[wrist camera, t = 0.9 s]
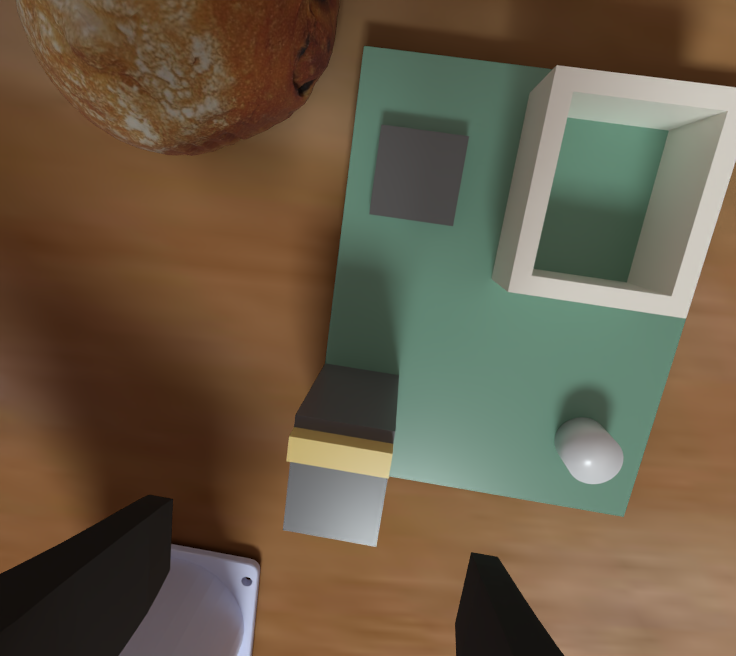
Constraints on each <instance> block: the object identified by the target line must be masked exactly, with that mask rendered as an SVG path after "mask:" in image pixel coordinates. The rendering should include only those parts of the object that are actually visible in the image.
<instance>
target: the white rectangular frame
mask: <svg viewBox="0 0 736 656" xmlns="http://www.w3.org/2000/svg"><path fill="white" fill-rule="evenodd" d="M567 117H568V118H576V119H583V120H591V121H599V122H607V123H614V124H622V125H630V126H637V127H645V128H653V129H660V130H668V131H669V132H668V136H667V139H666V143H665V146H664V150H663V154H662V157H661V161H660V164H659V168H658V172H657V175H656V179H655V182H654V186H653V190H652V193H651V197H650V200H649V204H648V208H647V211H646V215H645V219H644V222H643V226H642V229H641V233H640V237H639V240H638V244H637V247H636V251H635V255H634V258H633V262H632V265H631V269H630V273H629V276H628V280H627V283H626V282H619V281H613V280H606V279H599V278H592V277H585V276H579V275H572V274H565V273H558V272H551V271H545V270H538V269H533V268H534V263H535V259H536V254H537V250H538V245H539V241H540V237H541V232H542V228H543V223H544V219H545V214H546V210H547V206H548V201H549V197H550V192H551V188H552V183H553V179H554V175H555V170H556V166H557V161H558V157H559V152H560V148H561V144H562V139H563V135H564V130H565V126H566V121H567ZM735 161H736V87H728V86H720V85H712V84H704V83H696V82H688V81H680V80H672V79H664V78H656V77H648V76H640V75H632V74H624V73H615V72H607V71H599V70H591V69H583V68H575V67H567V66H559V65H556V66H555V67H554V68H553V69H552V70H551V72H550V73H549V74H548V75H547V76H546V77H545V78H544V79H543V80H542V81H541V82H540V83H539V84H538V85H537V86H536V87H535V88H534V89H533V90H532V91H531V92H530V93H529V98H528V103H527V108H526V113H525V118H524V123H523V128H522V132H521V137H520V142H519V147H518V152H517V157H516V162H515V167H514V172H513V176H512V181H511V186H510V191H509V196H508V201H507V206H506V211H505V215H504V220H503V225H502V230H501V235H500V240H499V245H498V250H497V255H496V259H495V264H494V269H493V274H492V280H493V281H494V282H496V283H497V284H498V285H500V286H501V287H502V288H504V289H505V290H506V291H507V292H512V293H519V294H525V295H532V296H539V297H545V298H552V299H559V300H565V301H572V302H579V303H585V304H592V305H599V306H605V307H612V308H619V309H625V310H632V311H639V312H645V313H652V314H659V315H665V316H672V317H679V318H685V319H686V317H687V314H688V311H689V307H690V304H691V301H692V298H693V295H694V292H695V288H696V285H697V282H698V279H699V276H700V272H701V269H702V266H703V263H704V260H705V257H706V253H707V250H708V247H709V244H710V241H711V238H712V234H713V231H714V228H715V225H716V222H717V218H718V215H719V212H720V209H721V206H722V203H723V199H724V196H725V193H726V190H727V187H728V183H729V180H730V177H731V174H732V171H733V168H734V164H735Z"/></svg>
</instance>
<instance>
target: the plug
mask: <svg viewBox="0 0 736 656" xmlns="http://www.w3.org/2000/svg"><path fill="white" fill-rule="evenodd" d="M398 386H399V375H395V374H388V373H382V372H376V371H370V370H364V369H357V368H351V367H345V366H339V365H333V364H326V363H325V364H324V366H323V368H322V370H321V371H320V373H319V375H318V377H317V378H316V380H315V382H314V384H313V385H312V387H311V389H310V391H309V392H308V394H307V396H306V398H305V399H304V401H303V403H302V404H301V406H300V408H299V410H298V411H297V413H296V415H295V424H294V428H293V430H292V432H291V434H290V436H289V443H288V452H287V461H289V462H290V470H289V479H288V489H287V498H286V507H285V516H284V525H283V530H286V531H292V532H297V533H303V534H308V535H314V536H319V537H325V538H330V539H336V540H341V541H347V542H353V543H358V544H364V545H369V546H375V547H376V545H377V539H378V533H379V527H380V521H381V515H382V509H383V503H384V497H385V491H386V485H387V479H389V473H390V467H391V461H392V455H393V443H394V437H395V431H396V416H397V401H398Z"/></svg>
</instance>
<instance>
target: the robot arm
mask: <svg viewBox="0 0 736 656" xmlns="http://www.w3.org/2000/svg"><path fill="white" fill-rule="evenodd" d="M172 510H173V499H170V498H164V497H159V496H153V495H147V496H145V497H143V498H141V499H139V500H138V501H136V502H134V503H132V504H130V505H129V506H127V507H125V508H123V509H121V510H120V511H118V512H116V513H114V514H113V515H111V516H109V517H107V518H106V519H104V520H102V521H100V522H99V523H97V524H95V525H93V526H91V527H90V528H88V529H86V530H84V531H82V532H80V533H79V534H77V535H75V536H73V537H71V538H70V539H68V540H66V541H64V542H62V543H61V544H59V545H57V546H55V547H53V548H51V549H49V550H47V551H45V552H43V553H41V554H39V555H37V556H35V557H33V558H31V559H29V560H27V561H25V562H23V563H21V564H19V565H17V566H15V567H13V568H11V569H9V570H7V571H5V572H3V573H1V574H0V656H252V648H253V638H254V627H255V617H256V607H257V597H258V586H259V576H260V565H259V564H258V562H257V561H255V560H253V559H250V558H245V557H240V556H234V555H229V554H223V553H218V552H212V551H207V550H202V549H196V548H191V547H185V546H180V545H175V544H171V535H172ZM245 577H249V578H250V579H251V580H248V579H246V578H245ZM455 632H456V656H564V655H563V653H562V652H561V651H560V649H559V648H558V647H557V645H556V644H555V642H554V641H553V639H552V638H551V637H550V635H549V634H548V632H547V631H546V629H545V628H544V627H543V625H542V624H541V622H540V621H539V619H538V618H537V617H536V615H535V614H534V612H533V611H532V609H531V608H530V606H529V605H528V603H527V601H526V600H525V598H524V597H523V595H522V594H521V592H520V591H519V589H518V588H517V586H516V585H515V583H514V581H513V580H512V578H511V577H510V575H509V574H508V572H507V570H506V569H505V567H504V566H503V564H502V563H501V561H500V560H499V558H498V557H495V556H489V555H484V554H478V553H472V552H471V556H470V560H469V564H468V569H467V573H466V578H465V582H464V587H463V591H462V596H461V600H460V604H459V609H458V613H457V618H456V622H455Z"/></svg>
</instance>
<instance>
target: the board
mask: <svg viewBox="0 0 736 656" xmlns="http://www.w3.org/2000/svg"><path fill="white" fill-rule="evenodd" d="M551 70H552V69H546V68H538V67H530V66H522V65H514V64H506V63H498V62H490V61H482V60H474V59H466V58H458V57H450V56H442V55H434V54H426V53H418V52H410V51H402V50H394V49H386V48H378V47H370V46H364V50H363V58H362V66H361V74H360V82H359V91H358V99H357V107H356V115H355V123H354V131H353V140H352V148H351V156H350V164H349V172H348V181H347V189H346V197H345V205H344V213H343V222H342V230H341V238H340V246H339V254H338V262H337V271H336V279H335V287H334V295H333V303H332V312H331V320H330V328H329V336H328V344H327V352H326V361H325V363H326V364H333V365H339V366H345V367H351V368H357V369H364V370H370V371H376V372H382V373H388V374H395V375H399V386H398V401H397V416H396V431H395V437H394V443H393V455H392V461H391V467H390V473H389V476H391V477H396V478H402V479H408V480H414V481H420V482H425V483H431V484H437V485H443V486H449V487H454V488H460V489H466V490H472V491H478V492H483V493H489V494H495V495H501V496H506V497H512V498H518V499H524V500H530V501H535V502H541V503H547V504H553V505H559V506H564V507H570V508H576V509H582V510H588V511H593V512H599V513H605V514H611V515H617V516H622V517H624V514H625V511H626V508H627V505H628V501H629V498H630V495H631V492H632V489H633V486H634V482H635V479H636V476H637V473H638V470H639V466H640V463H641V460H642V457H643V454H644V451H645V447H646V444H647V441H648V438H649V435H650V431H651V428H652V425H653V422H654V419H655V416H656V412H657V409H658V406H659V403H660V400H661V397H662V393H663V390H664V387H665V384H666V381H667V377H668V374H669V371H670V368H671V365H672V362H673V358H674V355H675V352H676V349H677V346H678V342H679V339H680V336H681V333H682V330H683V327H684V323H685V320H686V319H685V318H679V317H672V316H665V315H659V314H652V313H645V312H639V311H632V310H625V309H619V308H612V307H605V306H599V305H592V304H585V303H579V302H572V301H565V300H559V299H552V298H545V297H539V296H532V295H525V294H519V293H512V292H507V291H506V290H505V289H504V288H502V287H501V286H500V285H498V284H497V283H496V282H494V281H493V280H492V274H493V269H494V264H495V259H496V255H497V250H498V245H499V240H500V235H501V230H502V225H503V220H504V215H505V211H506V206H507V201H508V196H509V191H510V186H511V181H512V176H513V172H514V167H515V162H516V157H517V152H518V147H519V142H520V137H521V132H522V128H523V123H524V118H525V113H526V108H527V103H528V98H529V93H530V92H531V91H532V90H533V89H534V88H535V87H536V86H537V85H538V84H539V83H540V82H541V81H542V80H543V79H544V78H545V77H546V76H547V75H548V74H549V73H550V72H551ZM668 132H669V131H668V130H660V129H653V128H645V127H637V126H630V125H622V124H614V123H607V122H599V121H591V120H583V119H576V118H568V117H567V121H566V126H565V130H564V135H563V139H562V144H561V148H560V152H559V157H558V161H557V166H556V170H555V175H554V179H553V183H552V188H551V192H550V197H549V201H548V206H547V210H546V214H545V219H544V223H543V228H542V232H541V237H540V241H539V245H538V250H537V254H536V259H535V263H534V268H533V269H538V270H545V271H551V272H558V273H565V274H572V275H579V276H585V277H592V278H599V279H606V280H613V281H619V282H626V283H627V280H628V276H629V273H630V269H631V265H632V262H633V258H634V255H635V251H636V247H637V244H638V240H639V237H640V233H641V229H642V226H643V222H644V219H645V215H646V211H647V208H648V204H649V200H650V197H651V193H652V190H653V186H654V182H655V179H656V175H657V172H658V168H659V164H660V161H661V157H662V154H663V150H664V146H665V143H666V139H667V136H668ZM728 184H729V183H728ZM700 273H701V272H700Z"/></svg>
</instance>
